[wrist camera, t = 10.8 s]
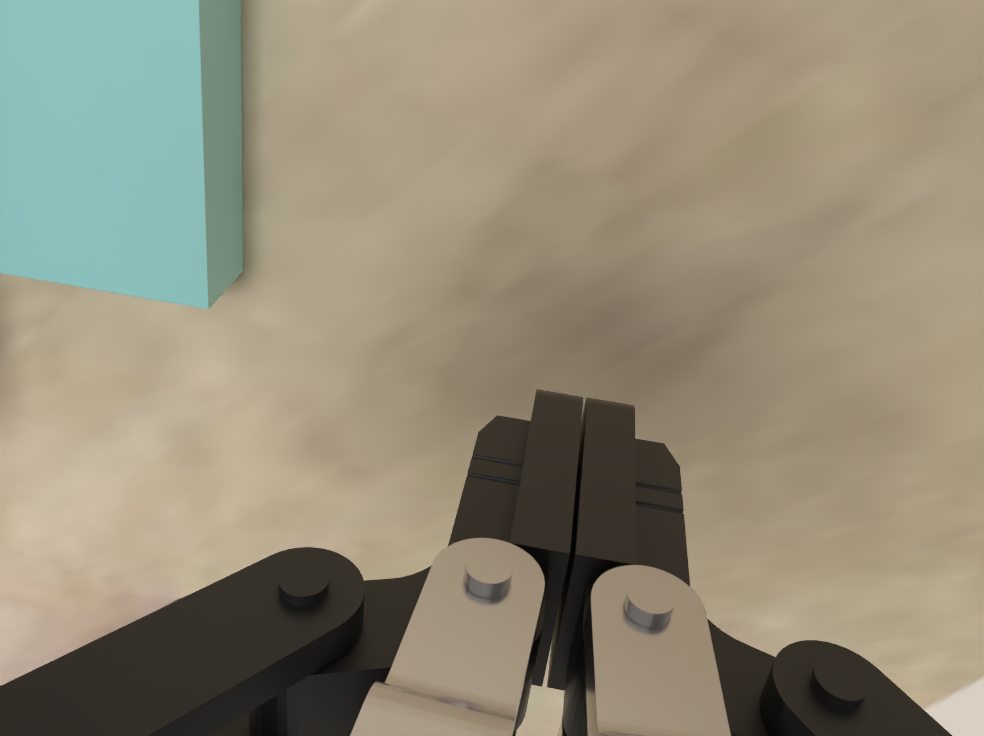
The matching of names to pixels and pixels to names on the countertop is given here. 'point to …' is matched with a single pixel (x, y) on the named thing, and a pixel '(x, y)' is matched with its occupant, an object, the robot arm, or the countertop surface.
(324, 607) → the robot arm
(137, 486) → the countertop surface
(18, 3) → the thin teal board
